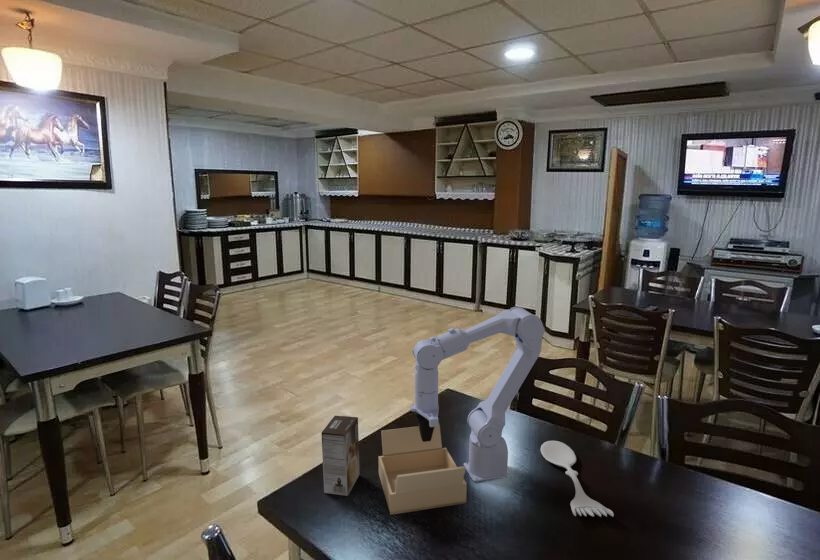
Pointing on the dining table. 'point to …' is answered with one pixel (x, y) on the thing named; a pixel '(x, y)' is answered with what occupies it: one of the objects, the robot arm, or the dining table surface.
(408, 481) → the near flap
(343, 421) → the coffee box
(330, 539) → the dining table surface
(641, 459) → the dining table surface
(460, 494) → the carton
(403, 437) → the far flap
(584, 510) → the spoon
